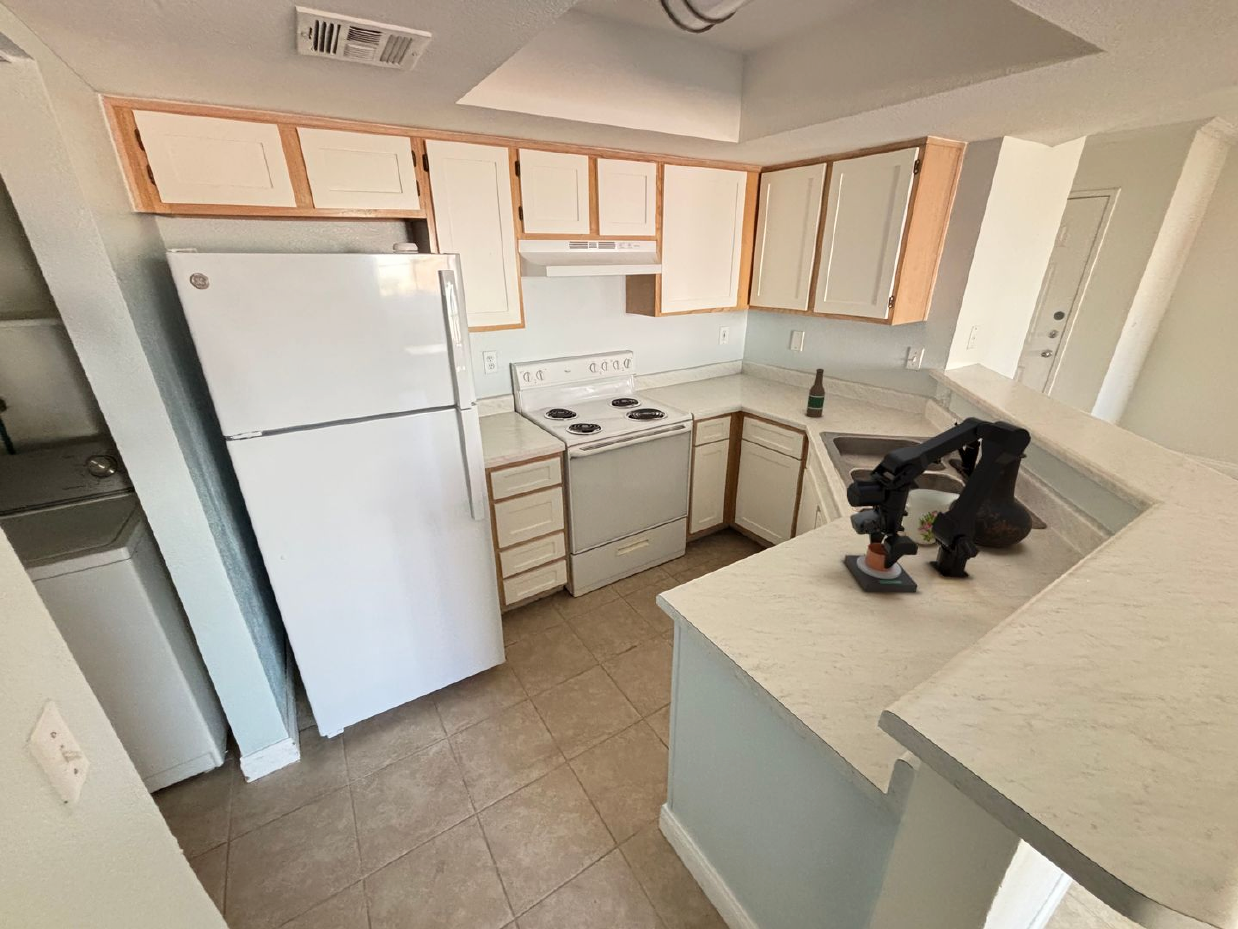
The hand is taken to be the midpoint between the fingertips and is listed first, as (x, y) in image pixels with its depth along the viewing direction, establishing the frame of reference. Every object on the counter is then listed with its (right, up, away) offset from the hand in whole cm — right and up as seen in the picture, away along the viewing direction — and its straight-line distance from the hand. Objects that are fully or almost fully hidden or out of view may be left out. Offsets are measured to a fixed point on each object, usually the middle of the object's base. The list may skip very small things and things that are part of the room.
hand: (880, 560), depth 125 cm
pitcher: (+20, +3, +18) cm, 27 cm away
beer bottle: (+35, +49, +133) cm, 146 cm away
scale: (0, -4, +1) cm, 4 cm away
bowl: (0, -1, +1) cm, 1 cm away
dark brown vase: (+39, +3, +17) cm, 42 cm away
